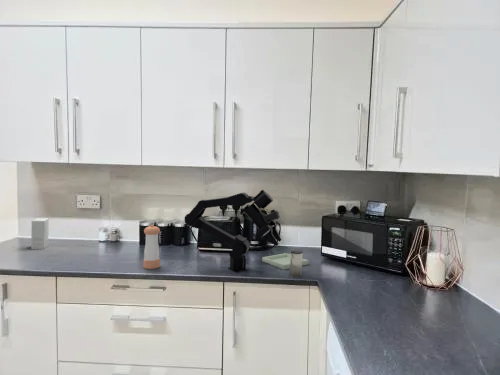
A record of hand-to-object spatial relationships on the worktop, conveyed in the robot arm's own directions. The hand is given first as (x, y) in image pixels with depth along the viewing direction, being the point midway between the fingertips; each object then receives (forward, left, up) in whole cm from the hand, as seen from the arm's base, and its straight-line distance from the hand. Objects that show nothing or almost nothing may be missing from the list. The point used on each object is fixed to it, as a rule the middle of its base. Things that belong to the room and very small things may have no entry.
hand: (279, 242), depth 145 cm
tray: (+14, +11, -13) cm, 22 cm away
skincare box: (-82, +103, -14) cm, 133 cm away
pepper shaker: (-43, +38, -14) cm, 59 cm away
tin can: (+5, -6, -13) cm, 16 cm away
